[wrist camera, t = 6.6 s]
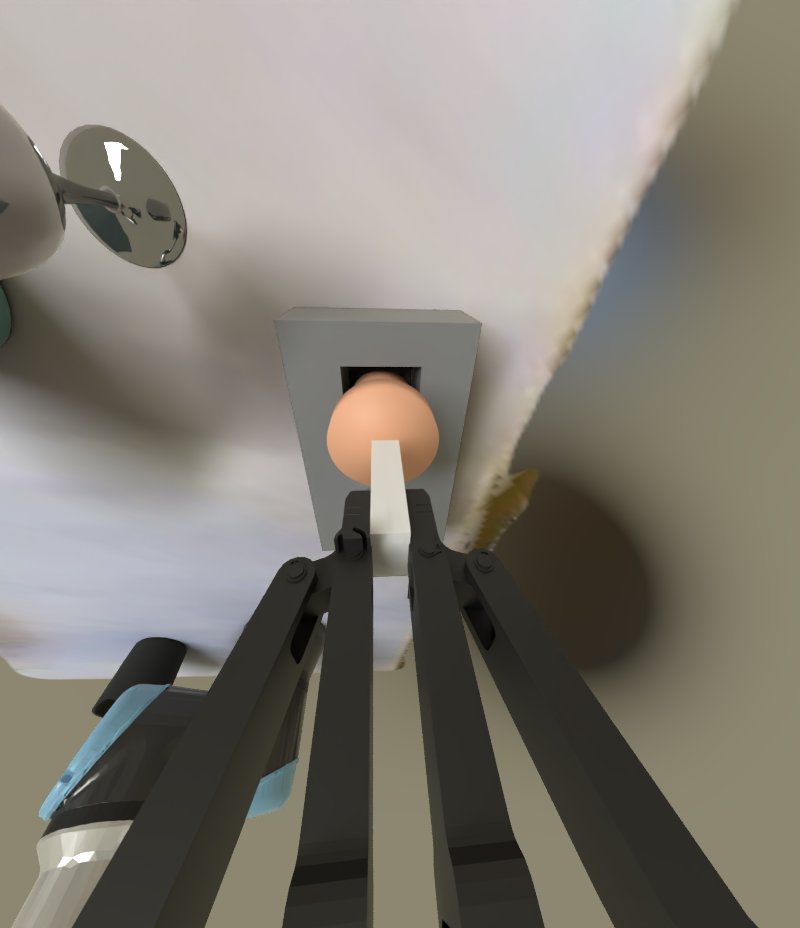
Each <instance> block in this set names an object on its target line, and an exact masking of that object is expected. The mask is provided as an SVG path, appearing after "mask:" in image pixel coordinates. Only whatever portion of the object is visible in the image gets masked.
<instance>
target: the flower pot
mask: <svg viewBox="0 0 800 928" xmlns="http://www.w3.org/2000/svg"><path fill="white" fill-rule="evenodd" d="M10 330H11V313H10V309H9V305H8V302H7V299H6V296H5V294H4V291H3V289H2V287H1V285H0V347H1V346H2V345H3V344H4V343H5V342H6V340H7V339H8V337H9V334H10Z"/></svg>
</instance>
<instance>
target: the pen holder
mask: <svg viewBox="0 0 800 928" xmlns="http://www.w3.org/2000/svg"><path fill="white" fill-rule="evenodd" d="M185 654H186V647H185V646H184V645H183V644H182V643H180V642H178V641H175V640H172V639H167V638H146V639H143V640H141V641H139V642H138V643H136V645H135V646H134V647H133V649H132V650H131V652H130V653H129V655H128V656H127V658H126V659H125V660H124V662H123V663H122V665H121V666H120V668H119V670H118V671H117V673H116V674H115V676H114V677H113V679H112V680H111V682H110V683H109V685H108V686H107V688H106V689H105V691H104V692H103V694H102V696H101V697H100V698H99V700H98V701H97V703H96V704H95V706H94V707H93V709H92V713H93V714H95V715H96V716H99V717H102V718H103V717H104V716H105V714H106V713H107V712H108V710H109V709H110V708H111V707H112V705H113V704H114V703H115V702H116V700H117V699H118V698H119V697H120V696H121V695H122V694H123V693H124V692H125V691H126V690H128V689H129V688H131V687H133V686H135V685H138V684H152V685H166V684H171V686H172V685H173V682H174V680H175V678H176V676H177V673H178V671H179V669H180V666H181V664H182V662H183V659H184V657H185Z"/></svg>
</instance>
